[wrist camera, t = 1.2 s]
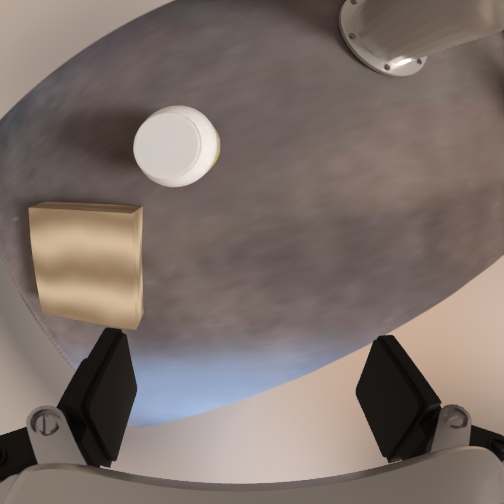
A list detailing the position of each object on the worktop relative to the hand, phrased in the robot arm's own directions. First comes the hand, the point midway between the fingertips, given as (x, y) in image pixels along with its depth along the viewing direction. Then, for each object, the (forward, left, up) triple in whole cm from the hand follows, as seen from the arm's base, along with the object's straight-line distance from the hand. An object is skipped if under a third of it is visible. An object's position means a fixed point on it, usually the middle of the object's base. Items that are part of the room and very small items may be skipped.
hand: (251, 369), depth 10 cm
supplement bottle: (-7, -6, -25) cm, 26 cm away
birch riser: (+7, -18, -25) cm, 31 cm away
